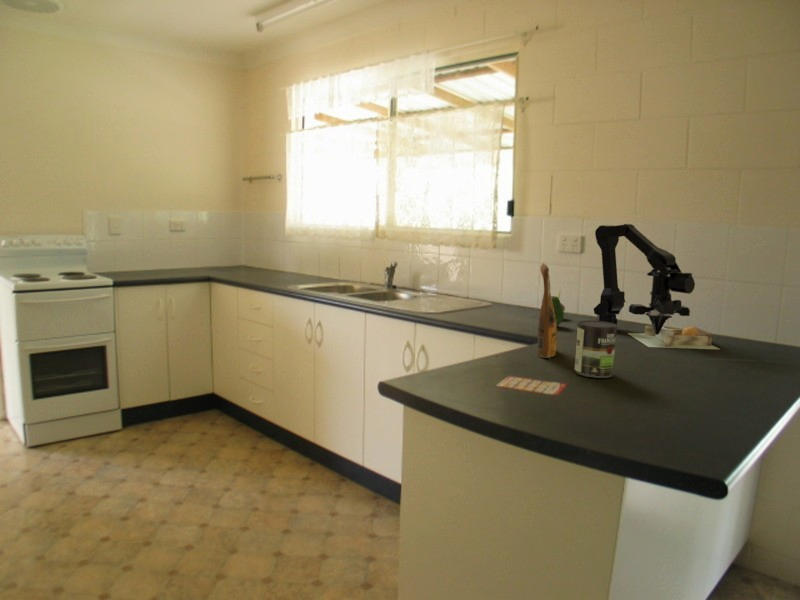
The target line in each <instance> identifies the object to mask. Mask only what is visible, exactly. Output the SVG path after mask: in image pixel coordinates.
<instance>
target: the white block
mask: <svg viewBox="0 0 800 600" xmlns="http://www.w3.org/2000/svg"><path fill="white" fill-rule="evenodd" d="M669 329H670V328H666V327H665V326H663V327H662V329H661V331H660V333H659V334H658V335H656V334H655V337H657V338H658V339H660V340H662V341H664V342H665V338H666V337H669V336H673V333H674V332H673V331H671V330H669Z"/></svg>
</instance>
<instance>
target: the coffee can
mask: <svg viewBox="0 0 800 600" xmlns="http://www.w3.org/2000/svg"><path fill="white" fill-rule="evenodd" d="M576 325H577V330H576V331H577V332H576V344H575V345H576V346H575V358H574V359H575V360H574V370H576V371H578V372H581V373H584V374H589V375H595V376H609V375H612V374H613V375H614V365H615V355H616V342H617V339H616V338H617V332H618V324H617V325H616V324H613V323H610V322H603V321H597V320H591V319H590V320H579V321H577V324H576Z"/></svg>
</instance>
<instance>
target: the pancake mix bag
mask: <svg viewBox="0 0 800 600" xmlns="http://www.w3.org/2000/svg"><path fill="white" fill-rule="evenodd" d="M549 270H550V269H549V267H548V265H546V264H545V263H544V262H543V263H542V264H541V265H540V273H541V276H542V278H543V296H542V300H541V306H540V312H539V317H538V326H537V327H538V328H537V351H538V356H539V355H542V356H544V357H549V356H556V353H557V348H558V347H557V346H558V328H557V327H558V326H556V319H555V314H554V308H553V303H552V298H551V296H552V295H551V294H552V293H551V279H550V273H549Z"/></svg>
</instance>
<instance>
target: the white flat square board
mask: <svg viewBox="0 0 800 600" xmlns="http://www.w3.org/2000/svg"><path fill="white" fill-rule="evenodd" d="M627 335H629V336H631V337H632V338H634V339H635V340H637V341H639V342H640V343H642V344H644V345H645V346H646V347H648V348H664V349H665V348H667V349H669V348H670V349H696V350H698V349H699V350H720V348H718V347H717V346H714V345H712V344H711V346H700V345H673V346H670V347H665V342H664V341H662V340H660V339H658V338H657V337H655V336H650V335H645V334H644V333H643V332H642V333H640V332H638V333H637V332H627Z"/></svg>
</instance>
